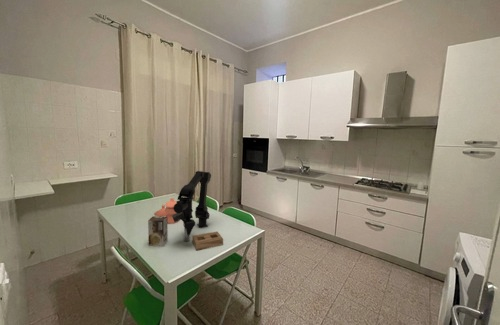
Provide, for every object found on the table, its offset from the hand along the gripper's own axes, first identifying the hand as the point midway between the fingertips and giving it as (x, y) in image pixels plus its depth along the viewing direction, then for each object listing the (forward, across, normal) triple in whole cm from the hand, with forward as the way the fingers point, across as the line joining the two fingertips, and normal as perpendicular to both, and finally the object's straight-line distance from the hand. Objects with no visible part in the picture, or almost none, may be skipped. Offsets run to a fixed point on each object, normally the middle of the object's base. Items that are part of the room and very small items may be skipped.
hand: (187, 232), depth 125 cm
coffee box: (+6, -3, -16) cm, 17 cm away
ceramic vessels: (+6, -44, -8) cm, 46 cm away
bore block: (+6, +8, +11) cm, 14 cm away
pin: (+6, 0, 0) cm, 6 cm away
